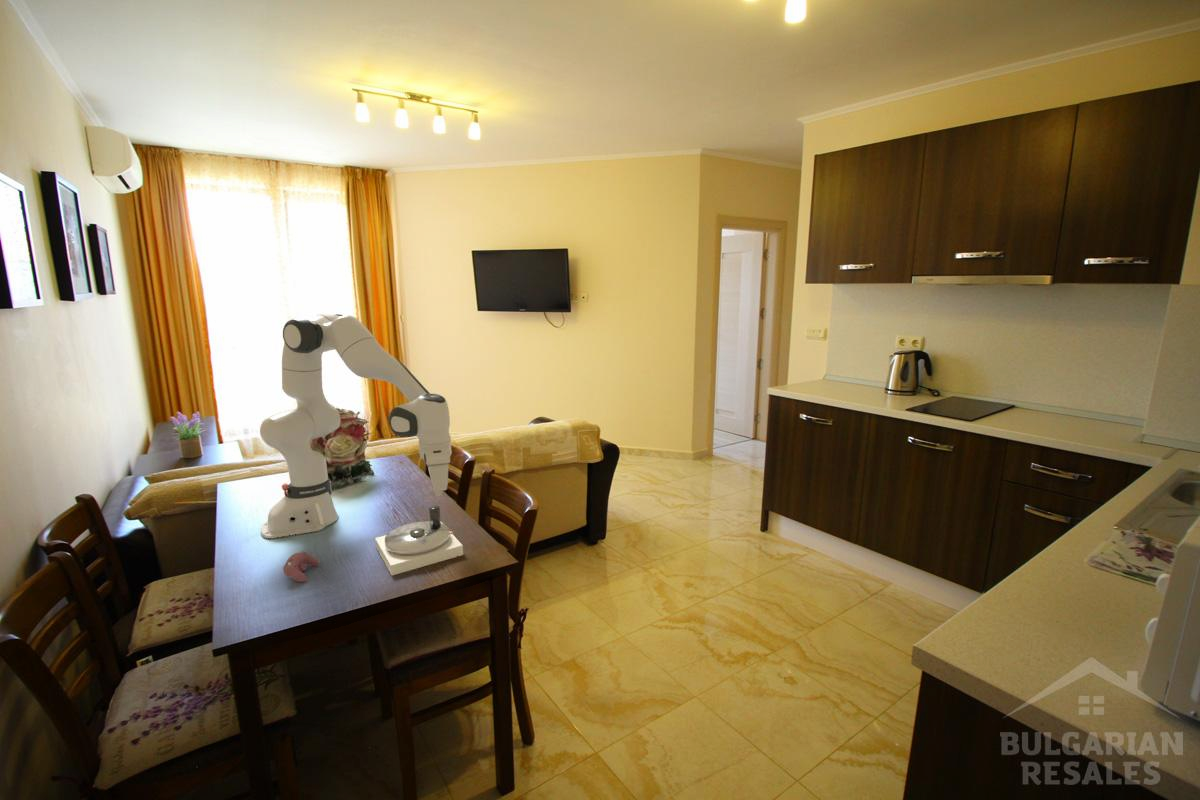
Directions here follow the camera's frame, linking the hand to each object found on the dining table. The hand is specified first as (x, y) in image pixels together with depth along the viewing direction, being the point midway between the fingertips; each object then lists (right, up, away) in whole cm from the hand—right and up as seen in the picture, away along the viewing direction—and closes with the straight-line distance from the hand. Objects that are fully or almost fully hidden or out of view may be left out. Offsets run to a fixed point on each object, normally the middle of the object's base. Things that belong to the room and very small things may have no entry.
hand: (438, 494), depth 157 cm
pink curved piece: (-34, -20, -11) cm, 41 cm away
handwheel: (-6, -14, 0) cm, 15 cm away
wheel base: (-6, -17, +1) cm, 18 cm away
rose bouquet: (-59, -5, +63) cm, 86 cm away
